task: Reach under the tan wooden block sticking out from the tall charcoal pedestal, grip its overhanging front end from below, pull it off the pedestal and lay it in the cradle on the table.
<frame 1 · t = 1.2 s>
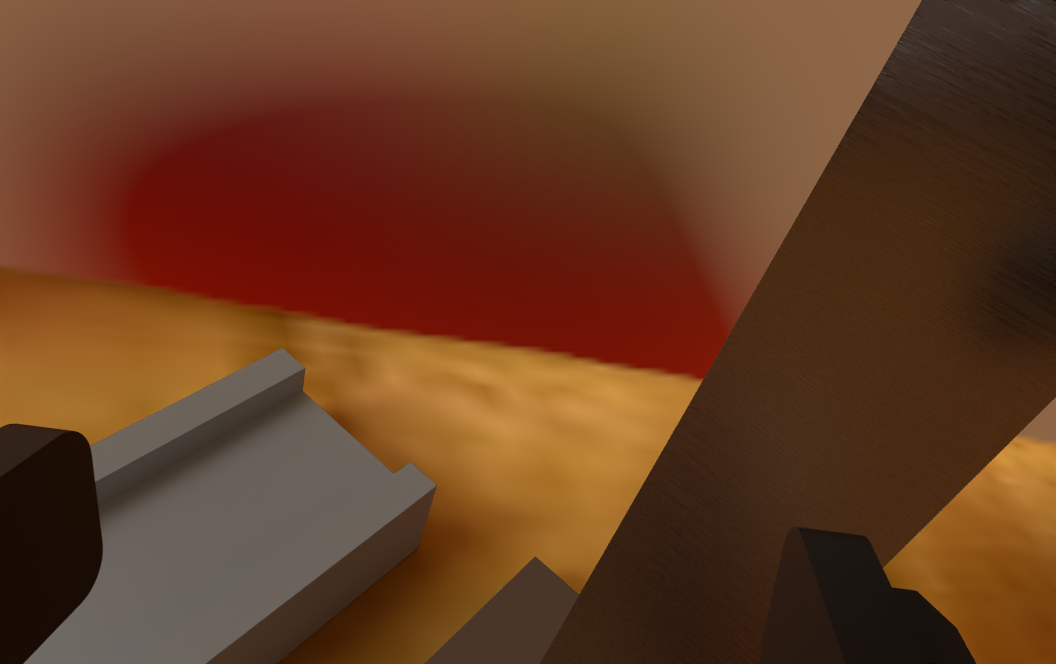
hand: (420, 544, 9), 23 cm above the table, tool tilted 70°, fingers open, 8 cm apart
cradle: (187, 586, 32), on the table
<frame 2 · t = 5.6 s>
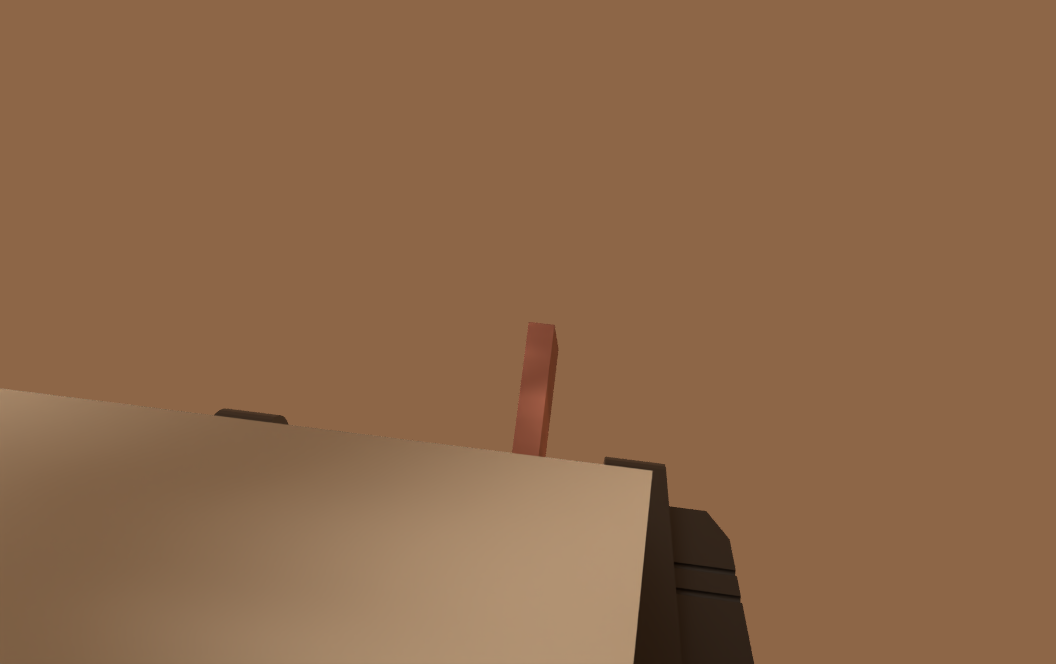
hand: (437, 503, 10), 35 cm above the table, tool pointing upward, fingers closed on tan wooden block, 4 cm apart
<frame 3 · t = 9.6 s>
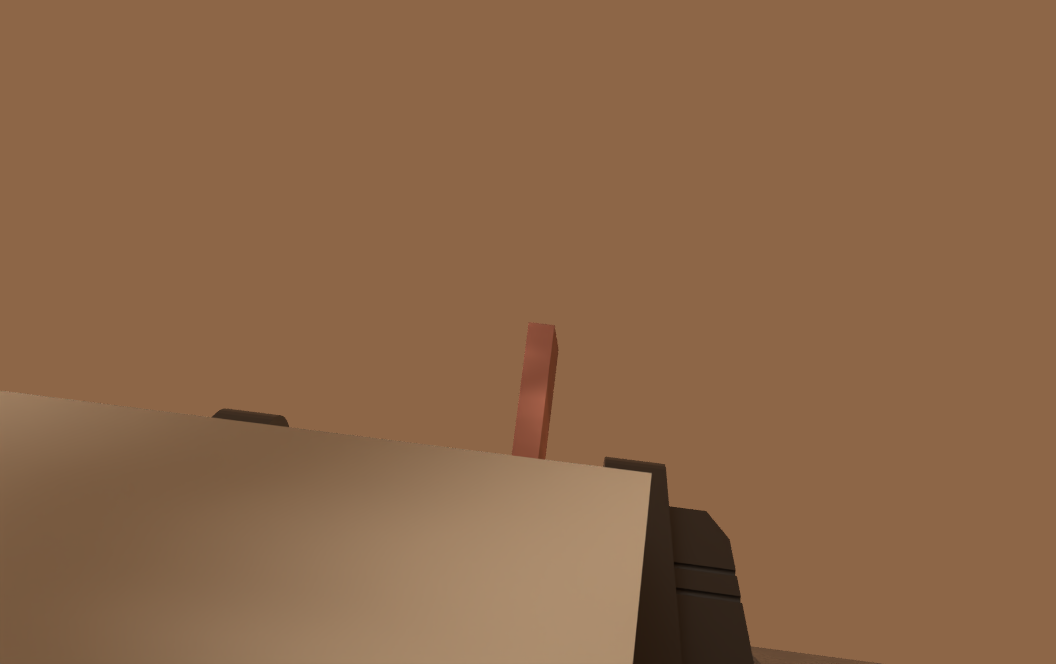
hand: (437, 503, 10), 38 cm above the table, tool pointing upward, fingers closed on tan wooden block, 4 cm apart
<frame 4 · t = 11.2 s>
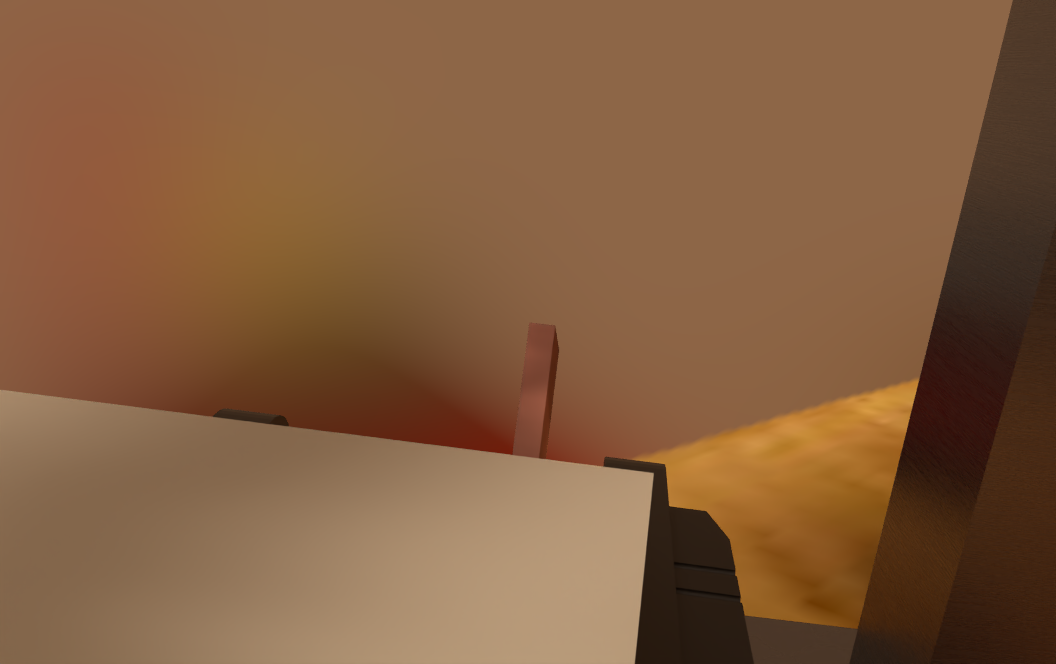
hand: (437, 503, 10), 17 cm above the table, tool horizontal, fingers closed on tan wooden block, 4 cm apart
when the fingers open (7 cm above the table, at t = 14.1 s): tan wooden block drops 1 cm, resting on cradle.
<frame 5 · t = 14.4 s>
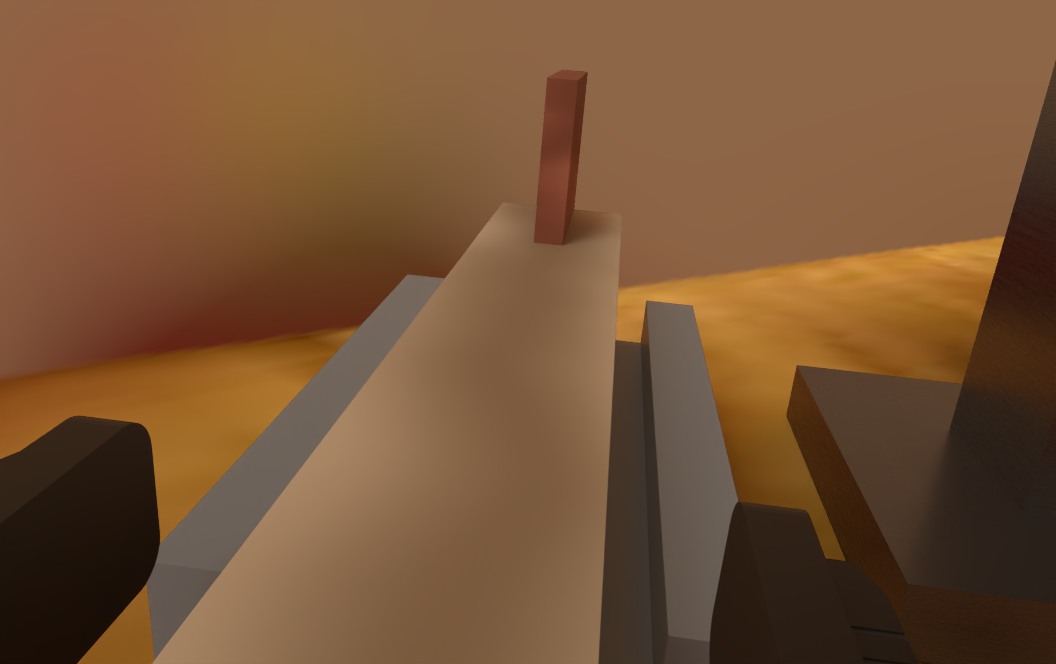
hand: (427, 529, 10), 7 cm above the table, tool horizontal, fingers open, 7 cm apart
pedestal: (1035, 534, 24), on the table
cradle: (504, 545, 21), on the table
tan wooden block: (493, 529, 17), point 3 cm above the table, touching cradle
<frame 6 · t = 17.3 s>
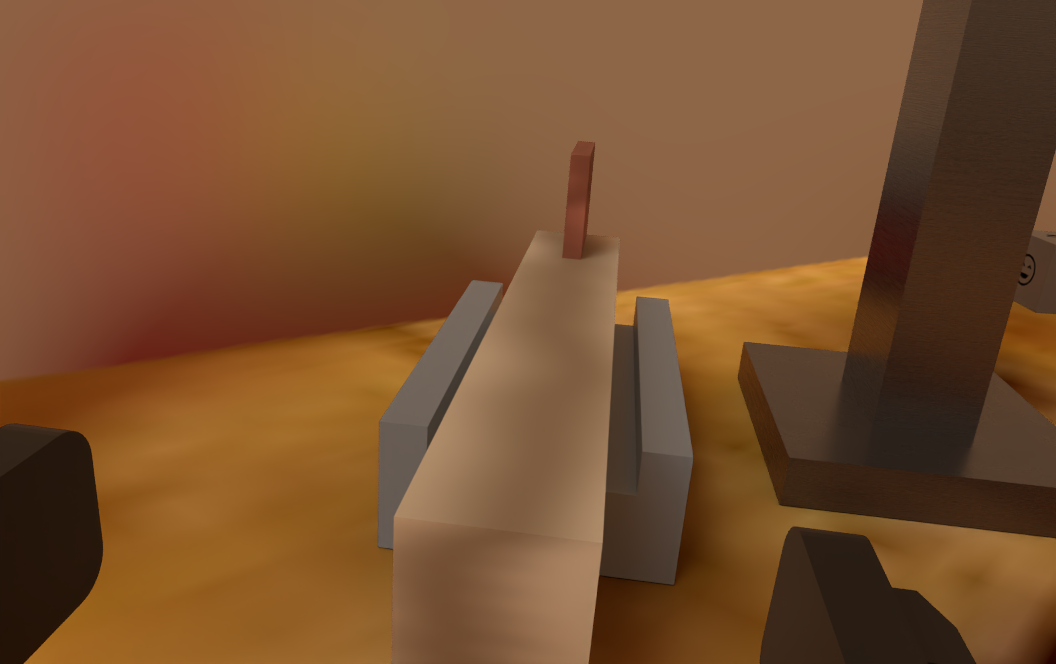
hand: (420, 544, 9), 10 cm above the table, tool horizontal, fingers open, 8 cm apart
pedestal: (893, 446, 36), on the table
cradle: (546, 449, 34), on the table
tan wooden block: (546, 423, 29), point 3 cm above the table, touching cradle
dice cube: (1048, 307, 61), on the table
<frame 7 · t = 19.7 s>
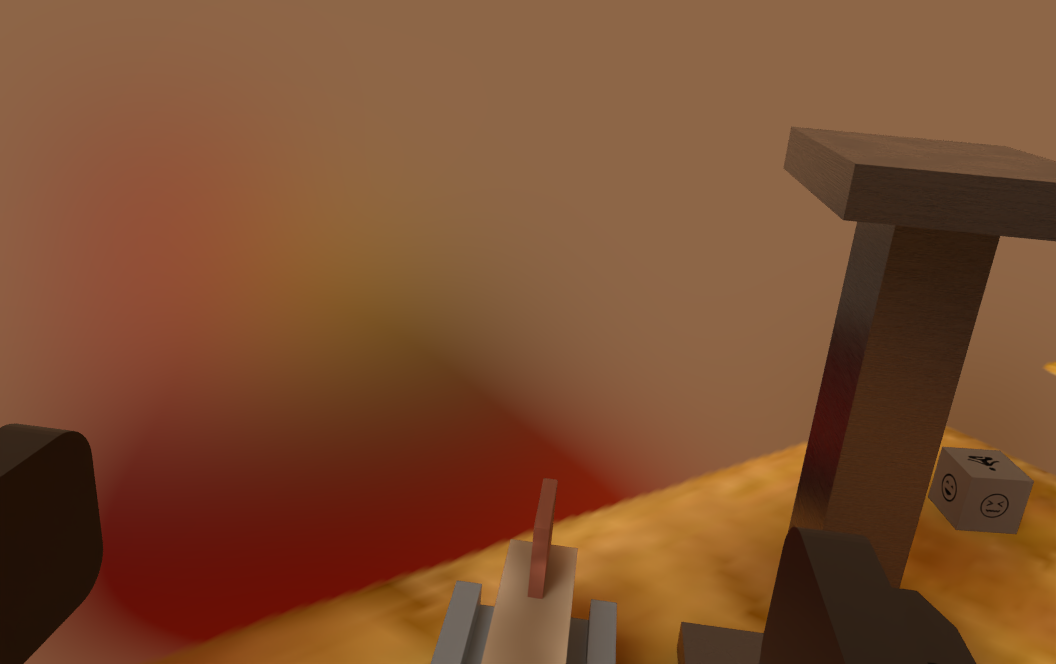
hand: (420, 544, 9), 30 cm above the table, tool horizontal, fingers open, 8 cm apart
dice cube: (969, 517, 69), on the table
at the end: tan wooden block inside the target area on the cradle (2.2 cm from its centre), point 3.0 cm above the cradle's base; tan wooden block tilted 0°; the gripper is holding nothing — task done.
